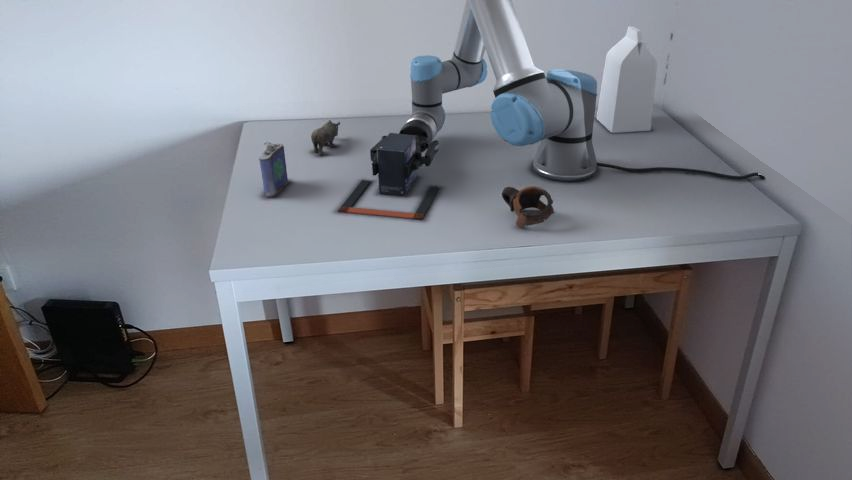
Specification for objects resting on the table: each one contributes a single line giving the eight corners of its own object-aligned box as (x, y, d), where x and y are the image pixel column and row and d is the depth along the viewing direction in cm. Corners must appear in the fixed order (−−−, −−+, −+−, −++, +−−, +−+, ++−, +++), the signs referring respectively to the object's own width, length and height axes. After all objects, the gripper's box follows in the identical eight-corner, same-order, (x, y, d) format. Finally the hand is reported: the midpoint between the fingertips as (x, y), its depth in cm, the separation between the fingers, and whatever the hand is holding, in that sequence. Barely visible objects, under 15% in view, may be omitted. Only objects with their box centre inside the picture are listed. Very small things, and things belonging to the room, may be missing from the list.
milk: (596, 118, 200) (606, 24, 186) (633, 116, 202) (645, 23, 188) (611, 132, 190) (623, 34, 176) (650, 130, 192) (665, 33, 178)
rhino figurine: (347, 137, 181) (345, 115, 178) (324, 156, 170) (321, 133, 166) (332, 135, 182) (330, 113, 178) (309, 154, 170) (306, 131, 167)
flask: (273, 198, 149) (266, 151, 143) (260, 197, 149) (252, 149, 144) (291, 181, 157) (284, 135, 151) (278, 180, 157) (271, 134, 152)
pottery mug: (559, 215, 147) (563, 192, 140) (538, 248, 143) (541, 227, 136) (509, 190, 150) (511, 167, 142) (487, 222, 146) (488, 200, 138)
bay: (439, 188, 156) (439, 186, 156) (422, 219, 143) (422, 218, 142) (362, 181, 158) (362, 179, 158) (338, 211, 145) (337, 210, 144)
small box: (406, 196, 152) (404, 151, 146) (378, 194, 152) (374, 148, 147) (418, 177, 161) (416, 134, 155) (391, 175, 161) (388, 131, 156)
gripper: (456, 152, 169) (434, 191, 149) (379, 145, 171) (348, 183, 151) (456, 122, 165) (433, 158, 145) (377, 115, 167) (345, 150, 147)
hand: (390, 171), depth 148 cm, fingers closed on small box, 6 cm apart
